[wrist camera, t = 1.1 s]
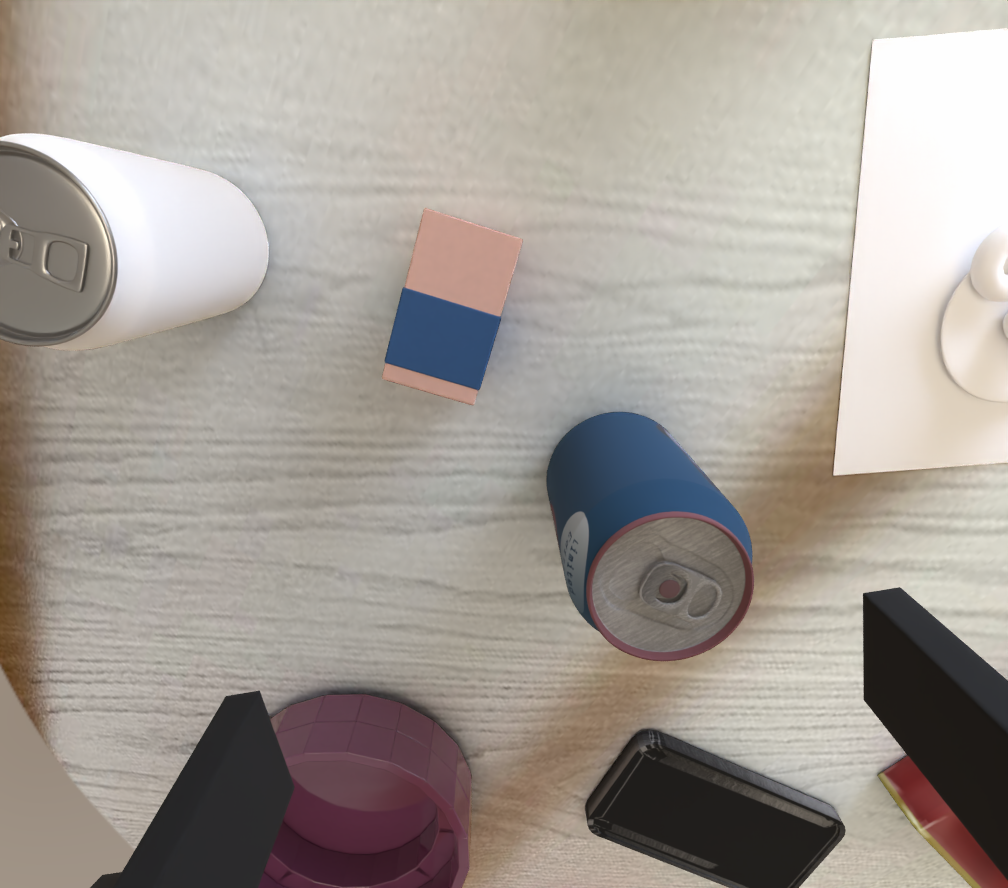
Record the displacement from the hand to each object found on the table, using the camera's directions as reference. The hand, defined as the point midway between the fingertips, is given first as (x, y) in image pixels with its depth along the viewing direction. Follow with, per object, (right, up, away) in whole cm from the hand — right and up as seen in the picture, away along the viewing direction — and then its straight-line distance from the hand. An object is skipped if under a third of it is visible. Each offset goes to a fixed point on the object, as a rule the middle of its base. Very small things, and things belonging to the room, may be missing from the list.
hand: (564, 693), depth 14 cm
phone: (+12, -18, +27) cm, 34 cm away
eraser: (-4, +12, +16) cm, 21 cm away
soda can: (+4, +4, +19) cm, 20 cm away
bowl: (-10, -16, +25) cm, 32 cm away
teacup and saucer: (+25, +14, +16) cm, 33 cm away
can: (-15, +15, +16) cm, 26 cm away
